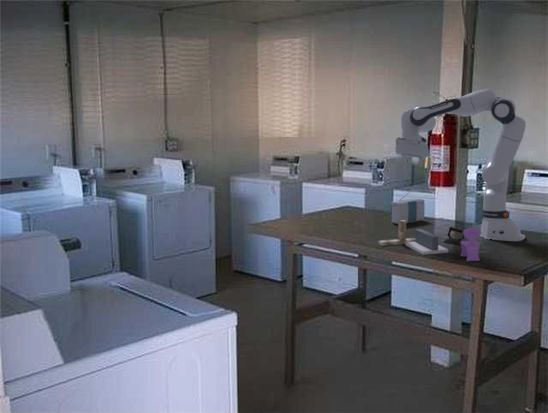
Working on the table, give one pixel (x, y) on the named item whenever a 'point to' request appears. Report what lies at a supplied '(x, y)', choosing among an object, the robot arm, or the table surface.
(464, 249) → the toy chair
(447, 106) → the robot arm
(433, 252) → the ridge stand
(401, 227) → the balance beam
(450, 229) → the clothes iron
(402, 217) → the stereo radio cassette player
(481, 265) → the table surface
